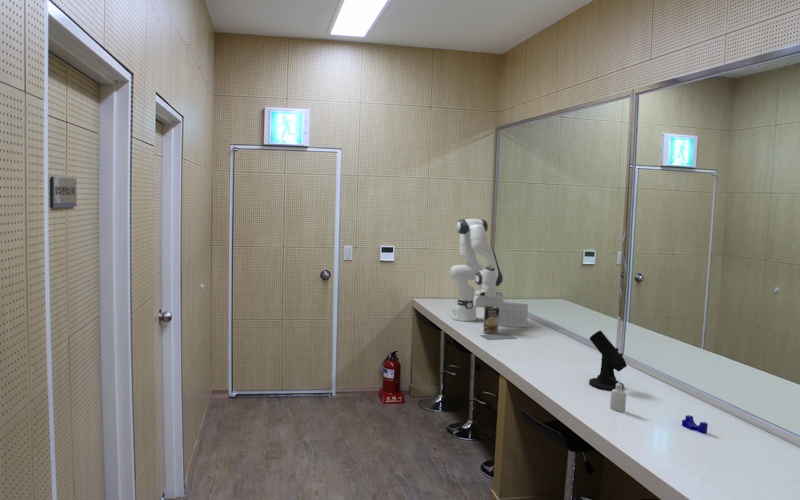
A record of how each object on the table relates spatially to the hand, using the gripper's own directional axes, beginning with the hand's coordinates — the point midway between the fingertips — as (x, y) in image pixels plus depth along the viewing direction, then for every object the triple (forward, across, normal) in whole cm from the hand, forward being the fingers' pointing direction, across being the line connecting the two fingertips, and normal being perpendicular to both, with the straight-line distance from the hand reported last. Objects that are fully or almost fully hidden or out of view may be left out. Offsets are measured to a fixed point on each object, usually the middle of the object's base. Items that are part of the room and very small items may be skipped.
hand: (487, 313), depth 348 cm
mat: (+11, 0, +16) cm, 20 cm away
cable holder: (+13, -9, +158) cm, 158 cm away
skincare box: (+12, -23, -11) cm, 28 cm away
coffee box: (+12, 0, +5) cm, 13 cm away
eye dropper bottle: (+12, +7, +135) cm, 136 cm away
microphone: (+12, -8, +108) cm, 109 cm away
